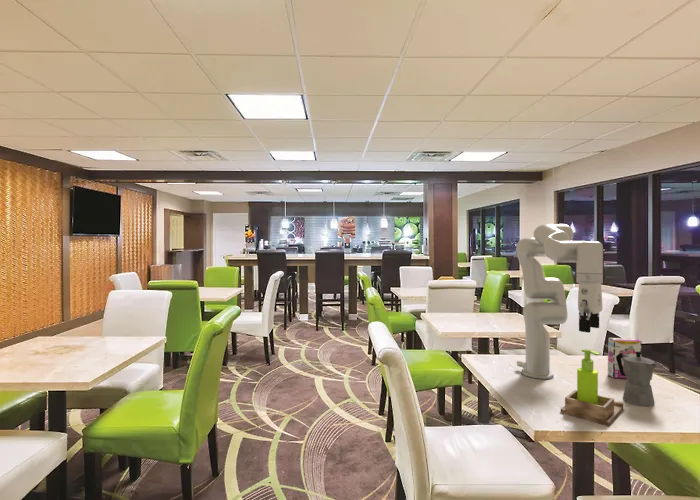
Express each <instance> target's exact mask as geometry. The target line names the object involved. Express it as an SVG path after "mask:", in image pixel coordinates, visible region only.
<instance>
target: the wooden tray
mask: <svg viewBox="0 0 700 500" xmlns="http://www.w3.org/2000/svg"><path fill="white" fill-rule="evenodd" d="M623 411H624V403H623V402H620V401H616V400H615V398H613V397H608V396H606V395H605V396H604V395H600V394H598V405H596V404H592V403H588V402H584V401H580V400H577V389H574V390H573V391H572V392H571V393H569V394H568V395H566V396H565V397H564V406H562V407H561V408H560V414H564V415H568V416H571V417H575V418H579V419H582V420H585V421H589V422H594V423H597V424H599V425H604V426H607V427H610V426H611V425H612V423H614V421H615V420H616V419H617V418H618V417H619V415H620V414H621V413H622V412H623Z"/></svg>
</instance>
